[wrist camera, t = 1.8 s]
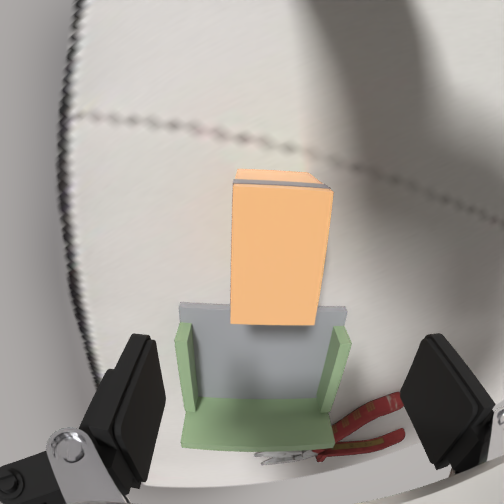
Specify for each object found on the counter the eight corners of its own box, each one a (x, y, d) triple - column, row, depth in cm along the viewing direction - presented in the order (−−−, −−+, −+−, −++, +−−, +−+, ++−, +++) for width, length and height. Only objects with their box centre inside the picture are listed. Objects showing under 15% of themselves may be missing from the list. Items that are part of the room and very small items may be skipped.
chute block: (237, 167, 21) (231, 185, 15) (308, 171, 21) (334, 191, 15) (234, 272, 24) (229, 324, 18) (298, 274, 25) (314, 325, 18)
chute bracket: (180, 302, 25) (162, 355, 19) (345, 306, 26) (369, 357, 19) (190, 396, 30) (181, 447, 24) (321, 398, 30) (332, 447, 24)
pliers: (241, 433, 33) (241, 450, 31) (400, 384, 31) (408, 400, 29) (270, 468, 38) (271, 482, 35) (401, 428, 35) (407, 442, 33)
